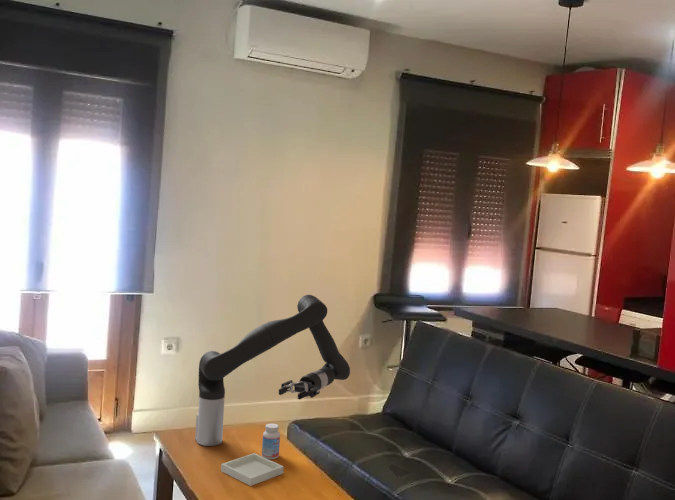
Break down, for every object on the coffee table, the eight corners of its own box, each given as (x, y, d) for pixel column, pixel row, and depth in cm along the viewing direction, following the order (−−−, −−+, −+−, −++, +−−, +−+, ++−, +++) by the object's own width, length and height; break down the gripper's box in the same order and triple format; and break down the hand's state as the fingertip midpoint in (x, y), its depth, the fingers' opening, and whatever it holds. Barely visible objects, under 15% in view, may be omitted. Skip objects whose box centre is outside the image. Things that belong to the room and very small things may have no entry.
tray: (221, 471, 232) (221, 463, 232) (253, 459, 243) (254, 453, 243) (250, 485, 222) (250, 478, 222) (283, 473, 233) (283, 466, 233)
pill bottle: (276, 460, 244) (278, 429, 242) (259, 458, 245) (261, 427, 244) (280, 454, 250) (282, 424, 248) (264, 452, 251) (266, 421, 250)
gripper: (298, 369, 270) (273, 381, 257) (329, 375, 263) (305, 388, 249) (298, 388, 271) (273, 400, 258) (329, 395, 264) (305, 408, 250)
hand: (288, 394), depth 253 cm, fingers open, 8 cm apart
